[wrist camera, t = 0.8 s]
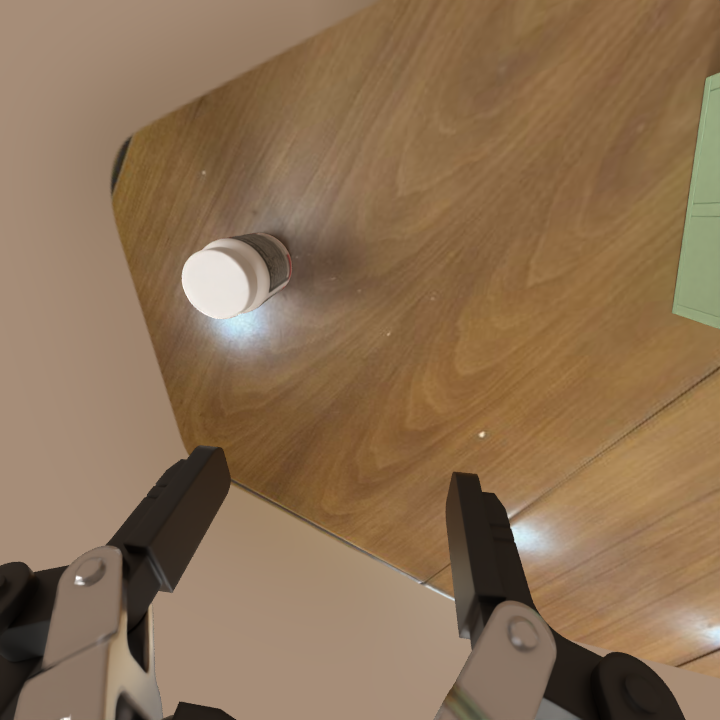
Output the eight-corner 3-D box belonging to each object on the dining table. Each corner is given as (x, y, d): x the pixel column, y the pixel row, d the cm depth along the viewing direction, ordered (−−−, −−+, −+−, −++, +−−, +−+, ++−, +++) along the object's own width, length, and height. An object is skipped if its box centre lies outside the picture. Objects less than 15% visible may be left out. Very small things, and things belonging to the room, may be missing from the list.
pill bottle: (250, 219, 25) (190, 222, 17) (303, 255, 26) (269, 272, 18) (226, 272, 27) (162, 296, 19) (276, 304, 28) (235, 339, 20)
